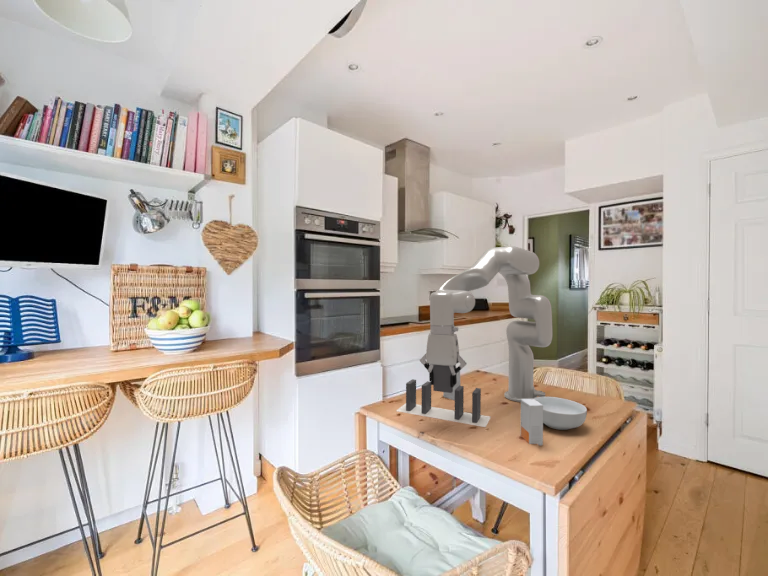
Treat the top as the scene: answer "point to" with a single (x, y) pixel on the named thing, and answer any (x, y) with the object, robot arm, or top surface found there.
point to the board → (446, 415)
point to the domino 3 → (442, 379)
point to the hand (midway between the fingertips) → (442, 384)
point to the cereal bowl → (562, 413)
